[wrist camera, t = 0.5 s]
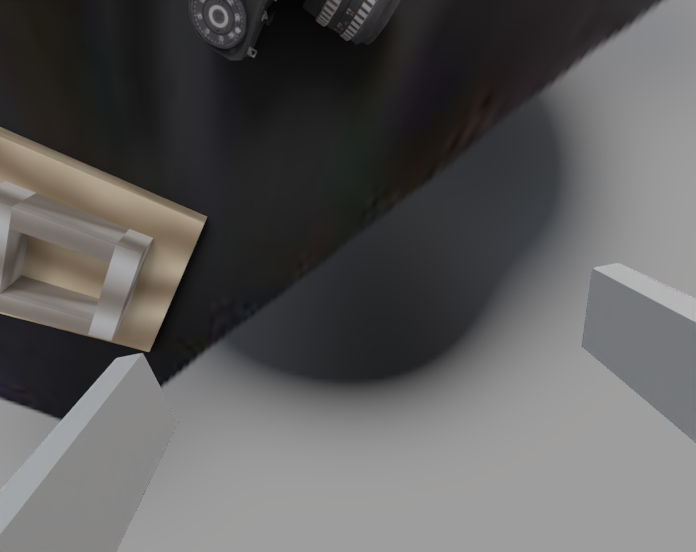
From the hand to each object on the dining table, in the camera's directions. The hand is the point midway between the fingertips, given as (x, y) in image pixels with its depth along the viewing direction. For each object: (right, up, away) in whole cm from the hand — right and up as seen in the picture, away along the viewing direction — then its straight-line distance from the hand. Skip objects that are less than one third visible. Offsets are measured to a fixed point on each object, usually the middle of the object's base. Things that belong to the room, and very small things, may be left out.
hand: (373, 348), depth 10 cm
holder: (-27, +4, +23) cm, 35 cm away
